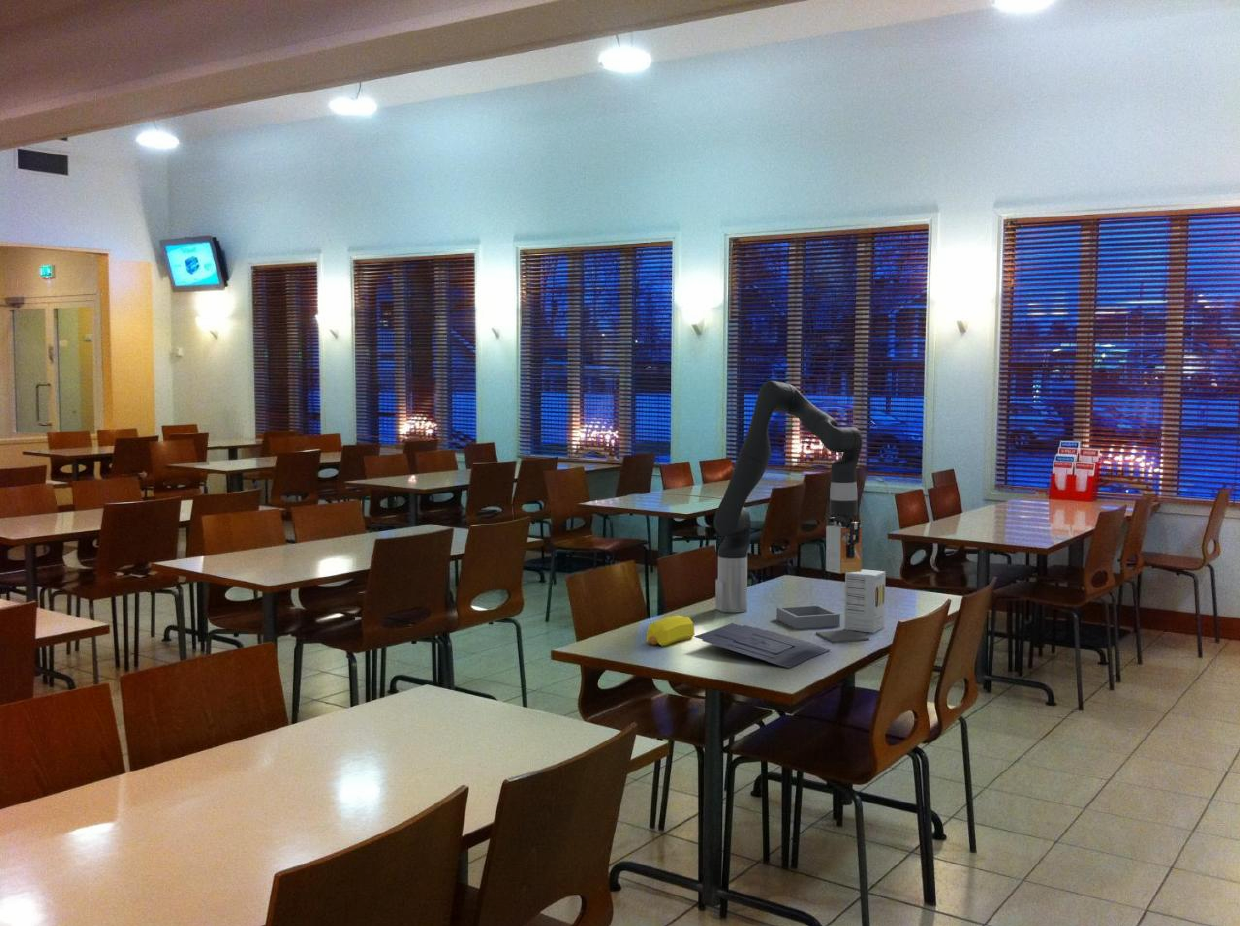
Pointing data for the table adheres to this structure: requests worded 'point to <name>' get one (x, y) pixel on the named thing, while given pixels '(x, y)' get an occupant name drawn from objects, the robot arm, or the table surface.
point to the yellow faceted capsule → (670, 630)
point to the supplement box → (864, 600)
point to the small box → (841, 551)
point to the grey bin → (807, 616)
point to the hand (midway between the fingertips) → (843, 556)
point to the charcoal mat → (842, 636)
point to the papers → (762, 644)
